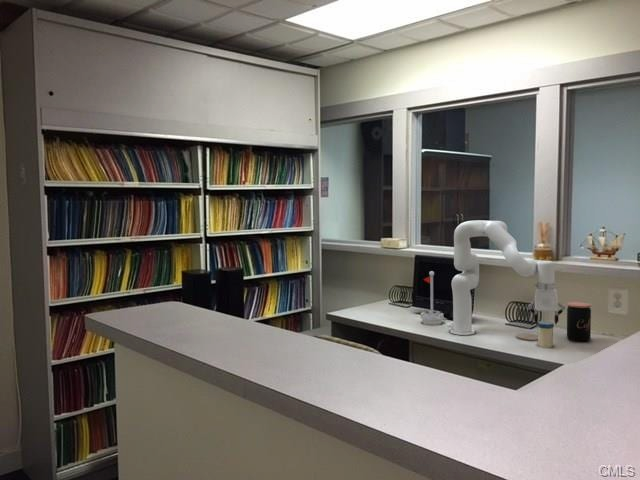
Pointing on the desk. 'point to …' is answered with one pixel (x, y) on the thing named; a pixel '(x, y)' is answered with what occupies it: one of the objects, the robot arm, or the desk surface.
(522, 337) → the coaster
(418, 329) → the desk surface
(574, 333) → the coffee jar
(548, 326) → the lid
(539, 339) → the jar
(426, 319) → the flag stand
